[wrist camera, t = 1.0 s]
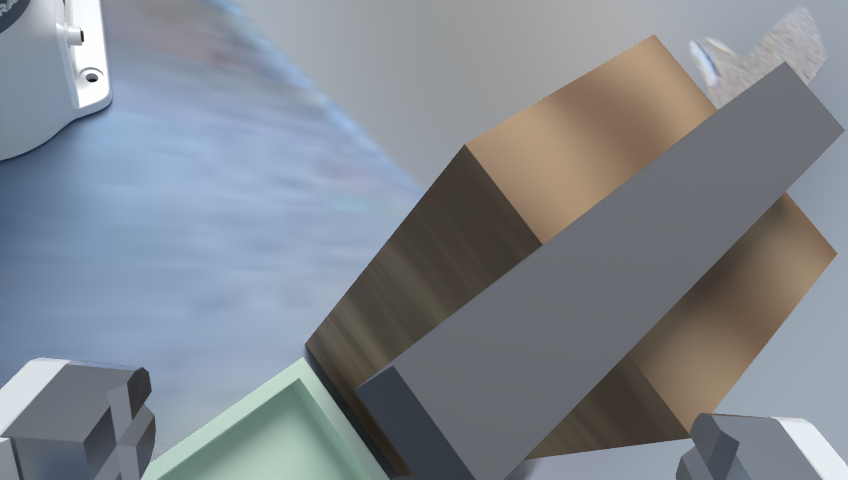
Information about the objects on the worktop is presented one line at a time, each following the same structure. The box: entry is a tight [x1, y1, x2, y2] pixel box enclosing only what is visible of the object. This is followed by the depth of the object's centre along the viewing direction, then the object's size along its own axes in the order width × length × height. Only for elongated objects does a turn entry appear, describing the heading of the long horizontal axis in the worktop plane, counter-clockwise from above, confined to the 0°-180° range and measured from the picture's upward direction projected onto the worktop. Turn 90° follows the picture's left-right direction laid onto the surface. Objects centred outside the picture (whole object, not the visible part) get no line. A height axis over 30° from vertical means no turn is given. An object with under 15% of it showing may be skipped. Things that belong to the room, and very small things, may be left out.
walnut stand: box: [305, 35, 837, 476], centre depth 36 cm, size 12×12×30 cm
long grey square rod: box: [354, 61, 845, 480], centre depth 20 cm, size 20×3×3 cm, turn 129°
